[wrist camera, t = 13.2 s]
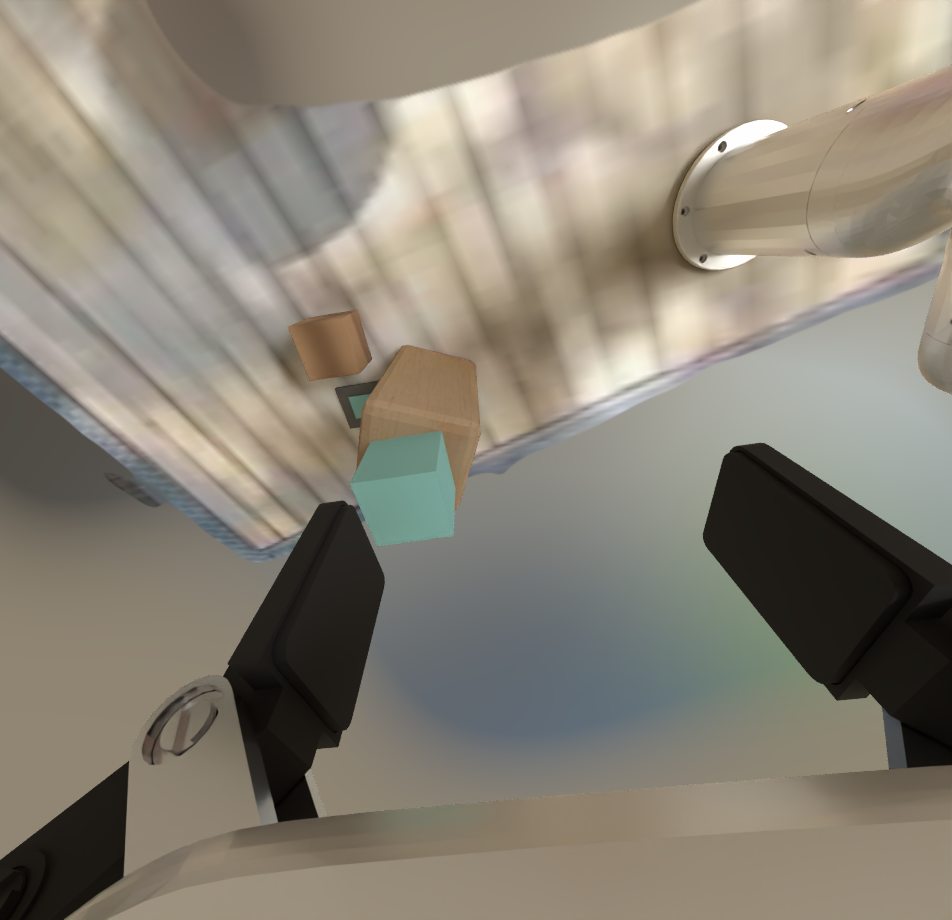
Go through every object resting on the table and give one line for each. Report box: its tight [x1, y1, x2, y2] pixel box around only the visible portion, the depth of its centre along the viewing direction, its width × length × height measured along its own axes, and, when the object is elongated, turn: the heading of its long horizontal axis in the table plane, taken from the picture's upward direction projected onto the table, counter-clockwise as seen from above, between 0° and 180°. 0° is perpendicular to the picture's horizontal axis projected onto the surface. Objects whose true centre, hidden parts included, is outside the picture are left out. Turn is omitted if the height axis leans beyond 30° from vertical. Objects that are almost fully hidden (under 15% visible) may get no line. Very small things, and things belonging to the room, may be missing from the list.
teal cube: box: [350, 431, 456, 546], centre depth 27 cm, size 6×6×6 cm
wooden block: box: [357, 345, 481, 510], centre depth 38 cm, size 10×10×20 cm
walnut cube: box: [288, 310, 372, 381], centre depth 41 cm, size 6×6×6 cm
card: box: [335, 381, 379, 428], centre depth 48 cm, size 6×6×1 cm
